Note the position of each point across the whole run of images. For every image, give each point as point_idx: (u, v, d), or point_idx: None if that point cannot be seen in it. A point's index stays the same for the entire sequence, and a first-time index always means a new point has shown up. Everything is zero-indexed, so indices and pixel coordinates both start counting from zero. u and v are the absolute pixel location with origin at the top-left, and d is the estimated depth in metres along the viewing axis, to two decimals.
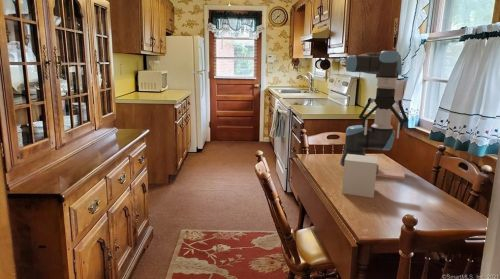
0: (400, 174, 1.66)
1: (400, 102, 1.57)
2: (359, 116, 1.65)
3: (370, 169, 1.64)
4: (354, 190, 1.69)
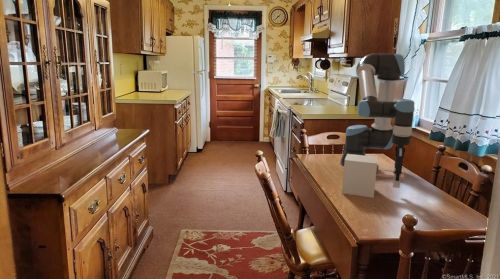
0: None
1: (397, 153, 1.59)
2: (394, 164, 1.73)
3: (370, 169, 1.64)
4: (354, 190, 1.69)
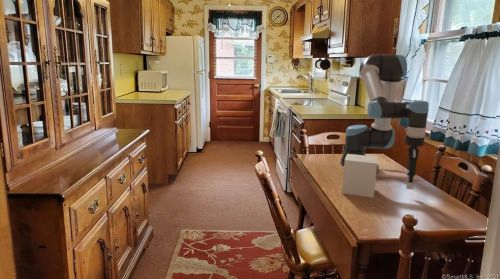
0: None
1: (411, 154, 1.57)
2: (407, 165, 1.71)
3: (370, 169, 1.64)
4: (354, 190, 1.69)
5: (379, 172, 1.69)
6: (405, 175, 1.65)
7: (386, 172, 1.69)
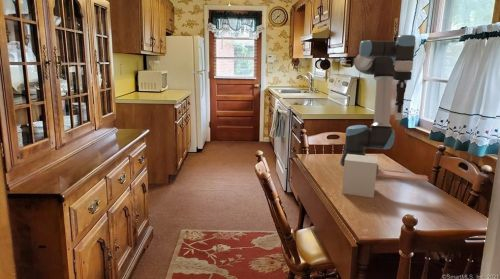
0: (423, 177, 1.63)
1: (399, 84, 1.62)
2: (396, 98, 1.78)
3: (370, 169, 1.64)
4: (354, 190, 1.69)
5: (388, 173, 1.67)
6: (415, 176, 1.64)
7: (395, 173, 1.67)
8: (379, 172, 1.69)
